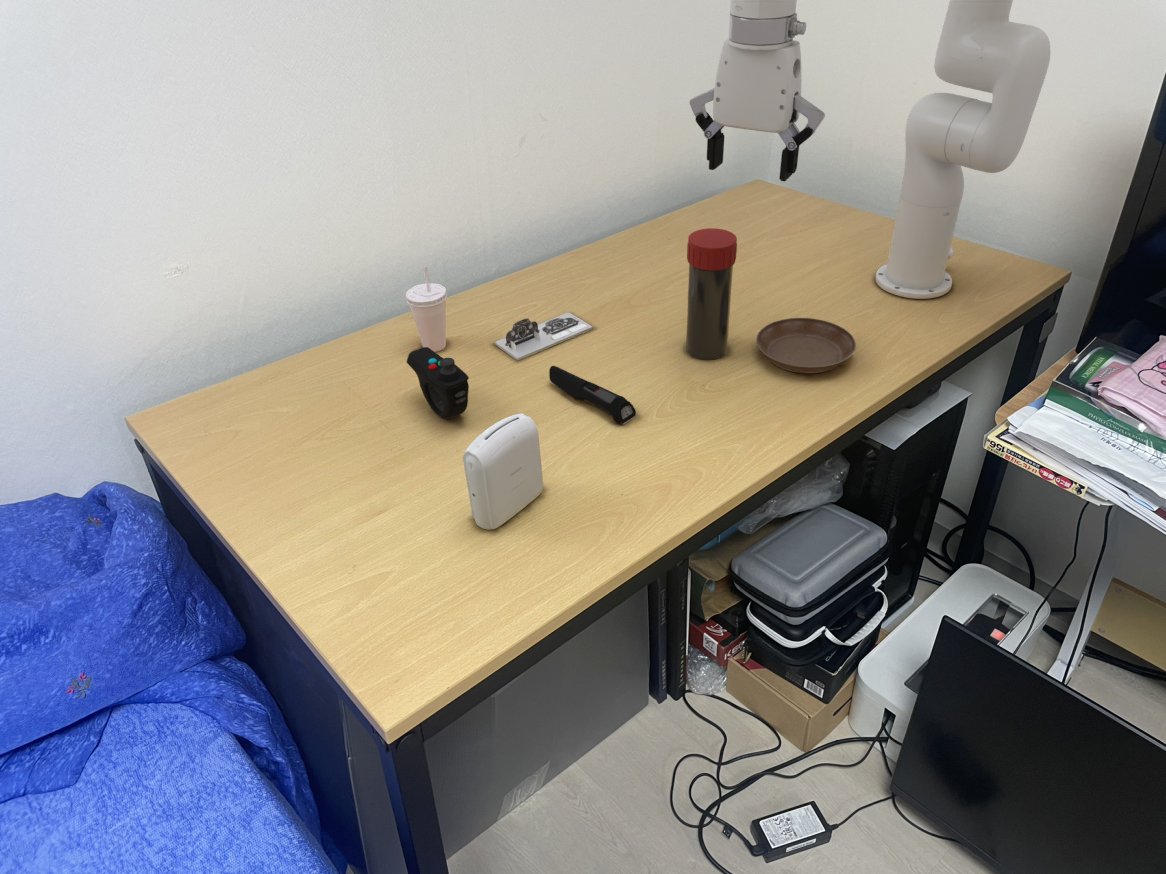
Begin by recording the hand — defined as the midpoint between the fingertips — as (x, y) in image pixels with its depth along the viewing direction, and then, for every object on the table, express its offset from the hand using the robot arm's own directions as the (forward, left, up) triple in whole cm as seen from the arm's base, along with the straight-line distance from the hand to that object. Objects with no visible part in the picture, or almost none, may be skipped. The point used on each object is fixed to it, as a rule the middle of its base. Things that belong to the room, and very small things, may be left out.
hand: (750, 172), depth 113 cm
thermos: (-2, -7, -31) cm, 32 cm away
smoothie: (+26, -40, -31) cm, 57 cm away
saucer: (-11, +5, -31) cm, 33 cm away
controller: (+36, -24, -31) cm, 54 cm away
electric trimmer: (+20, -10, -31) cm, 38 cm away
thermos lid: (-2, -7, -15) cm, 17 cm away
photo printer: (+43, -1, -31) cm, 53 cm away
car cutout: (+12, -29, -31) cm, 44 cm away
